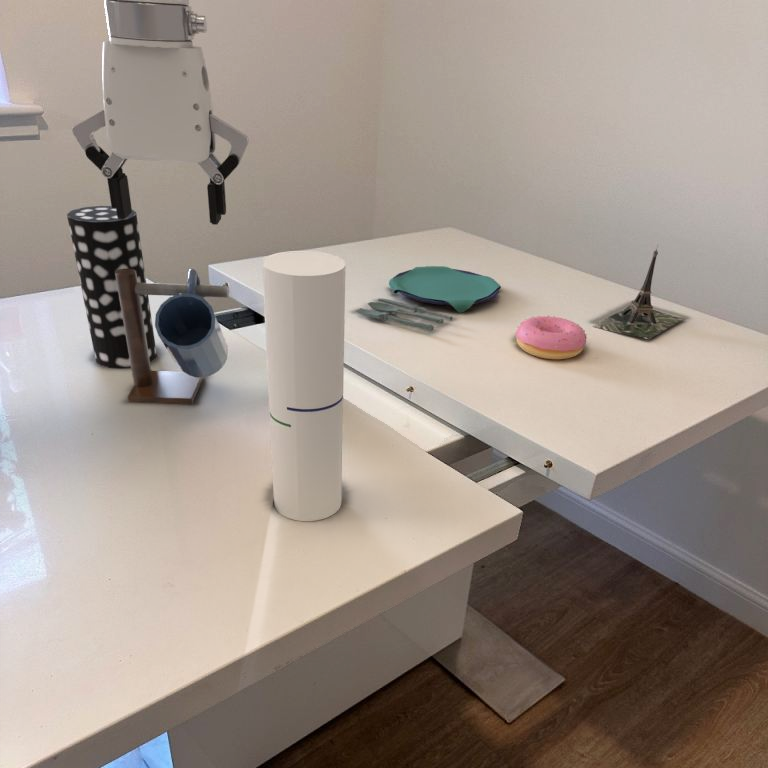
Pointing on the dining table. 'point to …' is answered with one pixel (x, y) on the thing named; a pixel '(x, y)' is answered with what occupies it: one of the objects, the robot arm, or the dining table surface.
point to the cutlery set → (434, 293)
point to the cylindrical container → (305, 380)
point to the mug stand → (146, 381)
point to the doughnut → (551, 337)
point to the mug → (192, 332)
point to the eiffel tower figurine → (640, 314)
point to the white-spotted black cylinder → (108, 278)
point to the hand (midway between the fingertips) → (170, 218)
